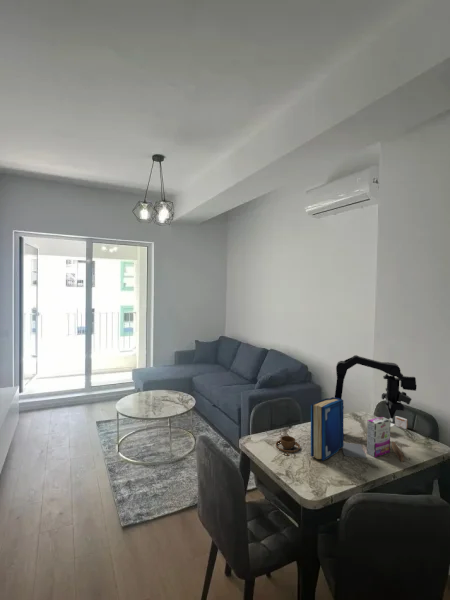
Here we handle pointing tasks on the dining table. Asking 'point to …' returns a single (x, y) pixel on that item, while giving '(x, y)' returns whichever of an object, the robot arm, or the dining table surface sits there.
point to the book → (326, 427)
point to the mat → (353, 450)
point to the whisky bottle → (399, 422)
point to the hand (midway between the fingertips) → (391, 417)
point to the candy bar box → (378, 436)
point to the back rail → (398, 452)
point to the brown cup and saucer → (288, 444)
